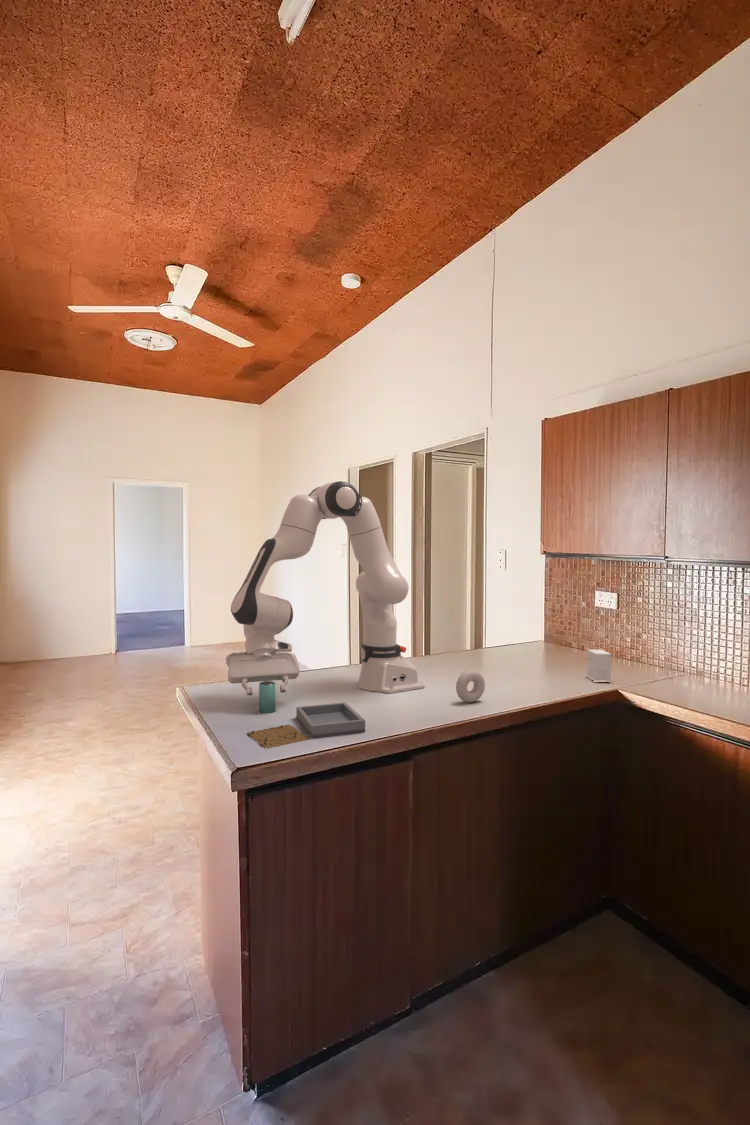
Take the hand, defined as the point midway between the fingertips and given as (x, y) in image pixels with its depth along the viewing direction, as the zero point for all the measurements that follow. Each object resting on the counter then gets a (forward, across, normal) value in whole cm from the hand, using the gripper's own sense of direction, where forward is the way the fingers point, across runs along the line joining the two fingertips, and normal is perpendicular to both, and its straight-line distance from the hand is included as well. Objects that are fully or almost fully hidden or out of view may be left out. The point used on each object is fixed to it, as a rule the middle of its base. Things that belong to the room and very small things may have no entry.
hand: (266, 693), depth 153 cm
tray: (+15, +14, -8) cm, 22 cm away
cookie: (+18, -1, -10) cm, 21 cm away
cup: (+4, 0, +4) cm, 5 cm away
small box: (+4, +119, +3) cm, 119 cm away
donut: (+11, +60, -3) cm, 61 cm away
